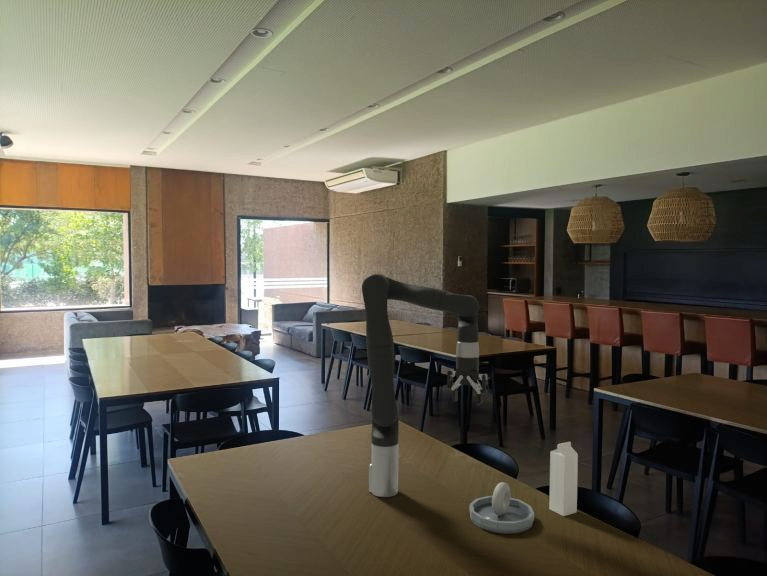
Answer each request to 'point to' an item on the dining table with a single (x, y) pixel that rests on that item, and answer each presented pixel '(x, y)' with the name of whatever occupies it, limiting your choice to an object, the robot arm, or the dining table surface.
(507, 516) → the bowl
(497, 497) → the donut
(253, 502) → the dining table surface
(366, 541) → the dining table surface
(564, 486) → the milk
